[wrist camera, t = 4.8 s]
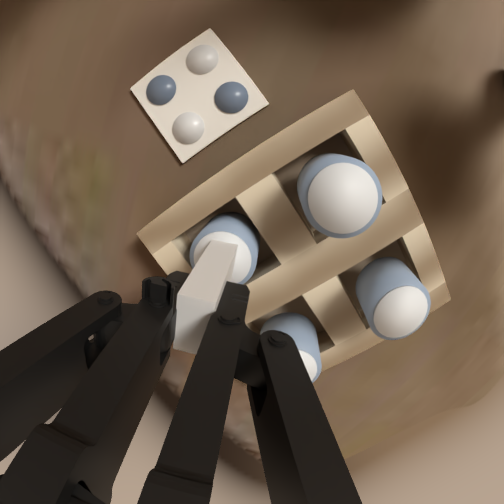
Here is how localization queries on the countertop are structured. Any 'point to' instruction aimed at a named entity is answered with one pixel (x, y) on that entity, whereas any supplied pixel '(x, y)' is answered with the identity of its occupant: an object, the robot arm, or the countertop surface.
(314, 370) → the button
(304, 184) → the button
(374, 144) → the wooden compartment tray
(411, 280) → the button
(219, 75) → the card
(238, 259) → the button
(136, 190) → the countertop surface
